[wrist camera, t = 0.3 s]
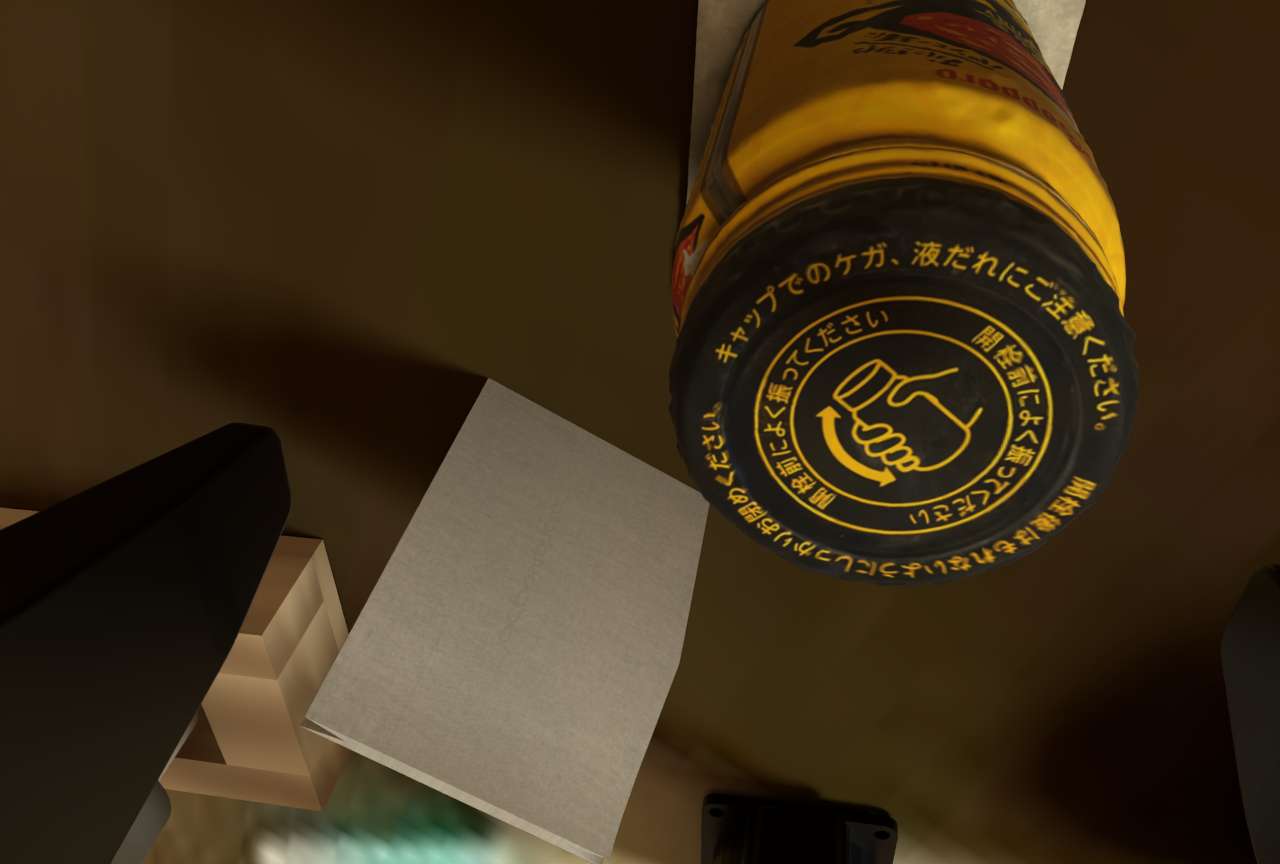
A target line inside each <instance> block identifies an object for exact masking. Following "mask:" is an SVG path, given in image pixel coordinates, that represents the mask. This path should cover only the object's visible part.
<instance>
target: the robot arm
mask: <svg viewBox="0 0 1280 864" xmlns="http://www.w3.org/2000/svg"><path fill="white" fill-rule="evenodd" d="M290 509H291V489H290V484H289V479H288V475H287V470H286V465H285V460H284V456H283V451H282V446H281V442H280V439H279V436H278V434H277V433H276V431H274V430H273V429H272V428H270V427H267V426H260V425H252V424H245V423H230V424H228V425H225V426H223V427H221V428H219V429H217V430H214V431H212V432H210V433H208V434H206V435H204V436H202V437H199V438H197V439H195V440H193V441H191V442H189V443H186V444H184V445H182V446H180V447H178V448H176V449H173V450H171V451H169V452H167V453H165V454H163V455H161V456H158V457H156V458H154V459H152V460H150V461H148V462H145V463H143V464H141V465H139V466H137V467H135V468H132V469H130V470H128V471H126V472H124V473H122V474H120V475H117V476H115V477H113V478H111V479H109V480H107V481H104V482H102V483H100V484H98V485H96V486H94V487H91V488H89V489H87V490H85V491H83V492H81V493H79V494H76V495H74V496H72V497H70V498H68V499H66V500H63V501H61V502H59V503H57V504H55V505H53V506H50V507H48V508H46V509H44V510H42V511H40V512H38V513H35V514H33V515H31V516H29V517H27V518H25V519H22V520H20V521H18V522H16V523H14V524H12V525H10V526H7V527H5V528H3V529H1V530H0V864H111V862H112V860H113V859H114V857H115V855H116V853H117V851H118V850H119V848H120V846H121V844H122V843H123V841H124V839H125V837H126V836H127V834H128V832H129V830H130V829H131V827H132V825H133V823H134V821H135V820H136V818H137V816H138V814H139V813H140V811H141V809H142V807H143V806H144V804H145V802H146V800H147V799H148V797H149V795H150V793H151V791H152V790H153V788H154V786H155V784H156V783H157V781H158V779H159V777H160V776H161V774H162V772H163V770H164V768H165V767H166V765H167V763H168V761H169V760H170V758H171V756H172V754H173V753H174V751H175V749H176V747H177V746H178V744H179V742H180V740H181V738H182V737H183V735H184V733H185V731H186V730H187V728H188V726H189V724H190V723H191V721H192V719H193V717H194V716H195V714H196V712H197V710H198V708H199V707H200V705H201V703H202V701H203V700H204V698H205V696H206V694H207V693H208V691H209V689H210V687H211V685H212V684H213V682H214V680H215V678H216V677H217V675H218V673H219V671H220V670H221V668H222V666H223V664H224V662H225V660H226V658H227V657H228V655H229V653H230V651H231V649H232V647H233V645H234V643H235V641H236V639H237V636H238V634H239V632H240V630H241V628H242V626H243V623H244V621H245V619H246V616H247V614H248V612H249V609H250V607H251V604H252V602H253V600H254V597H255V595H256V593H257V590H258V588H259V586H260V583H261V581H262V579H263V576H264V574H265V571H266V569H267V567H268V564H269V562H270V560H271V557H272V555H273V553H274V550H275V548H276V546H277V543H278V541H279V538H280V536H281V534H282V531H283V529H284V527H285V524H286V522H287V519H288V517H289V513H290ZM1220 654H1221V662H1222V669H1223V676H1224V683H1225V690H1226V696H1227V703H1228V710H1229V717H1230V724H1231V731H1232V737H1233V744H1234V751H1235V758H1236V765H1237V771H1238V778H1239V785H1240V791H1241V797H1242V802H1243V808H1244V813H1245V817H1246V822H1247V826H1248V830H1249V834H1250V838H1251V842H1252V846H1253V849H1254V853H1255V856H1256V860H1257V864H1280V565H1277V564H1266V565H1262V566H1260V567H1259V568H1258V569H1257V570H1255V572H1254V573H1253V575H1252V576H1251V578H1250V579H1249V581H1248V583H1247V585H1246V587H1245V589H1244V591H1243V593H1242V595H1241V597H1240V599H1239V601H1238V603H1237V605H1236V606H1235V608H1234V610H1233V612H1232V614H1231V616H1230V618H1229V620H1228V622H1227V624H1226V626H1225V628H1224V631H1223V634H1222V638H1221V646H1220ZM897 838H898V830H897V823H896V821H895V820H894V819H892V818H890V817H887V816H883V815H876V814H868V813H860V812H853V811H845V810H838V809H830V808H823V807H815V806H808V805H800V804H792V803H785V802H777V801H770V800H762V799H755V798H747V797H740V796H732V795H724V794H709V795H707V796H706V797H704V800H703V806H702V851H701V864H893V859H894V854H895V849H896V843H897Z"/></svg>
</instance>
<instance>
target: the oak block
mask: <svg viewBox="0 0 1280 864" xmlns="http://www.w3.org/2000/svg"><path fill="white" fill-rule="evenodd" d="M38 512H40V511H30V510H19V509H9V508H0V530H1V529H3V528H5V527H7V526H10V525H12V524H14V523H16V522H18V521H20V520H22V519H25V518H27V517H29V516H31V515H33V514H35V513H38ZM348 635H349V633H348V629H347V626H346V622H345V619H344V615H343V611H342V608H341V604H340V600H339V597H338V593H337V590H336V586H335V582H334V579H333V575H332V571H331V568H330V564H329V561H328V557H327V553H326V550H325V546H324V543H323V540H322V539H312V538H301V537H291V536H280V538H279V541H278V543H277V546H276V548H275V550H274V553H273V555H272V557H271V560H270V562H269V564H268V567H267V569H266V571H265V574H264V576H263V579H262V581H261V583H260V586H259V588H258V590H257V593H256V595H255V597H254V600H253V602H252V604H251V607H250V609H249V612H248V614H247V616H246V619H245V621H244V623H243V626H242V628H241V630H240V632H239V634H238V636H237V639H236V641H235V643H234V645H233V647H232V649H231V651H230V653H229V655H228V657H227V658H226V660H225V662H224V664H223V666H222V668H221V670H220V671H219V673H218V675H217V677H216V678H215V680H214V682H213V684H212V685H211V687H210V689H209V691H208V693H207V694H206V696H205V698H204V700H203V701H202V703H201V705H200V707H199V708H198V721H197V723H196V725H195V727H194V728H193V730H192V731H191V733H190V734H189V736H188V737H187V739H186V740H185V742H184V744H183V745H182V747H181V748H180V750H179V751H178V753H177V754H176V756H175V758H174V759H173V761H172V762H171V764H170V765H169V767H168V768H167V770H166V772H165V773H164V775H163V776H162V778H161V779H160V781H159V782H160V783H161V785H162V786H163V787H164V789H170V790H177V791H184V792H191V793H198V794H205V795H212V796H219V797H226V798H233V799H240V800H247V801H254V802H261V803H268V804H275V805H282V806H289V807H296V808H303V809H309V810H316V811H323V809H324V807H325V805H326V803H327V801H328V799H329V797H330V795H331V793H332V790H333V788H334V786H335V784H336V782H337V780H338V778H339V776H340V774H341V772H342V770H343V768H344V766H345V764H346V761H347V759H348V757H349V755H350V753H351V751H352V750H350V749H348V748H346V747H344V746H342V745H340V744H338V743H335V742H333V741H331V740H329V739H327V738H325V737H323V736H321V735H318V734H316V733H314V732H312V731H310V730H308V729H306V728H303V727H301V726H300V724H301V722H302V721H303V719H304V717H305V715H306V713H307V711H308V709H309V708H310V706H311V704H312V702H313V700H314V698H315V696H316V695H317V693H318V691H319V689H320V687H321V685H322V684H323V682H324V680H325V678H326V676H327V674H328V672H329V671H330V669H331V667H332V665H333V663H334V661H335V659H336V658H337V656H338V654H339V652H340V650H341V648H342V646H343V645H344V643H345V641H346V639H347V637H348Z"/></svg>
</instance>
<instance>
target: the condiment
mask: <svg viewBox="0 0 1280 864" xmlns="http://www.w3.org/2000/svg"><path fill="white" fill-rule="evenodd" d="M1085 2H1086V0H699V4H698V20H697V37H696V58H695V74H694V91H693V108H692V122H691V140H690V152H689V175H688V191H687V206H686V208H685V210H686V211H685V214H684V217H683V219H682V221H681V223H680V229H679V231H678V235H677V238H676V241H675V249H676V252H675V256H674V260H673V270H672V278H671V280H672V286H671V293H672V298H673V300H672V317H673V321H674V325H675V333H676V337H677V341H676V348H675V352H674V355H673V358H672V362H671V365H670V370H669V378H670V384H669V390H670V393H671V395H672V400H671V403H670V406H669V412H670V415H671V418H672V420H673V423H674V426H675V430H676V435H677V440H678V441H677V448H678V451H679V454H680V456H681V457H682V458H683V459H684V462H685V464H686V467H687V469H688V473H689V475H690V476H691V478H692V480H693V481H694V483H695V484H696V486H697V488H698V489H699V491H700V493H701V494H702V496H703V498H704V499H705V500H706V501H707V502H709V503H710V504H711V505H712V506H713V507H714V508H715V509H716V510H717V511H718V512H719V513H720V514H721V515H723V516H724V517H725V518H726V519H728V520H729V521H730V522H731V523H732V524H734V525H735V526H736V527H737V528H738V529H740V530H741V531H742V532H743V533H744V534H745V535H746V536H748V537H749V538H751V539H752V540H754V541H755V542H757V543H759V544H760V545H762V546H764V547H765V548H767V549H769V550H770V551H772V552H774V553H775V554H777V555H778V556H780V557H781V558H783V559H785V560H787V561H788V562H790V563H792V564H794V565H795V566H797V567H799V568H801V569H803V570H806V571H811V572H815V573H819V574H824V575H828V576H832V577H836V578H839V579H843V580H852V581H863V582H868V583H873V584H877V585H881V586H895V585H918V584H929V585H939V584H943V583H948V582H956V581H958V580H961V579H963V578H966V577H969V576H973V575H976V574H979V573H983V572H986V571H989V570H993V569H995V568H998V567H1001V566H1003V565H1007V564H1010V563H1013V562H1015V561H1017V560H1019V559H1021V558H1023V557H1025V556H1027V555H1029V554H1031V553H1033V552H1035V551H1036V550H1038V549H1039V548H1041V547H1042V546H1043V545H1044V544H1045V543H1046V542H1048V541H1049V540H1050V539H1052V538H1053V537H1054V536H1055V535H1056V534H1058V533H1059V532H1060V531H1062V530H1063V529H1065V528H1066V527H1067V526H1068V525H1069V524H1070V523H1072V522H1073V521H1074V520H1075V519H1076V518H1077V517H1078V516H1079V515H1080V514H1081V513H1082V512H1084V511H1085V510H1086V509H1088V508H1090V507H1091V506H1093V505H1095V503H1096V502H1097V501H1098V499H1099V498H1100V496H1101V495H1102V493H1103V492H1104V490H1105V488H1106V487H1107V485H1108V484H1109V482H1110V480H1111V479H1112V477H1113V475H1114V473H1115V470H1116V468H1117V465H1118V463H1119V461H1120V458H1121V456H1122V454H1123V452H1124V450H1125V448H1126V446H1127V444H1128V443H1129V441H1130V430H1131V427H1132V424H1133V421H1134V417H1135V414H1136V410H1137V406H1138V396H1139V387H1138V381H1139V374H1138V372H1139V368H1138V364H1137V362H1136V360H1135V358H1134V356H1133V354H1132V350H1133V342H1134V340H1135V338H1136V337H1135V332H1134V331H1133V330H1132V329H1131V328H1130V326H1129V325H1128V323H1127V322H1126V320H1125V318H1124V315H1123V305H1124V301H1125V284H1126V276H1125V269H1126V266H1125V258H1124V248H1123V241H1122V238H1121V234H1120V229H1119V223H1118V218H1117V214H1116V210H1115V206H1114V204H1113V201H1112V198H1111V196H1110V194H1109V192H1108V189H1107V185H1106V183H1105V181H1104V180H1103V178H1102V176H1101V175H1100V173H1099V171H1098V168H1097V165H1096V163H1095V160H1094V158H1093V154H1092V152H1091V150H1090V148H1089V147H1088V145H1087V144H1086V143H1085V140H1084V137H1083V135H1081V134H1080V132H1079V130H1078V127H1077V124H1076V122H1075V121H1074V119H1073V116H1072V112H1071V110H1070V107H1069V104H1068V101H1067V99H1066V96H1065V94H1064V92H1063V91H1062V88H1063V84H1064V80H1065V76H1066V72H1067V69H1068V65H1069V61H1070V58H1071V54H1072V49H1073V45H1074V42H1075V38H1076V34H1077V30H1078V27H1079V23H1080V20H1081V17H1082V13H1083V10H1084V6H1085Z"/></svg>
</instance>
